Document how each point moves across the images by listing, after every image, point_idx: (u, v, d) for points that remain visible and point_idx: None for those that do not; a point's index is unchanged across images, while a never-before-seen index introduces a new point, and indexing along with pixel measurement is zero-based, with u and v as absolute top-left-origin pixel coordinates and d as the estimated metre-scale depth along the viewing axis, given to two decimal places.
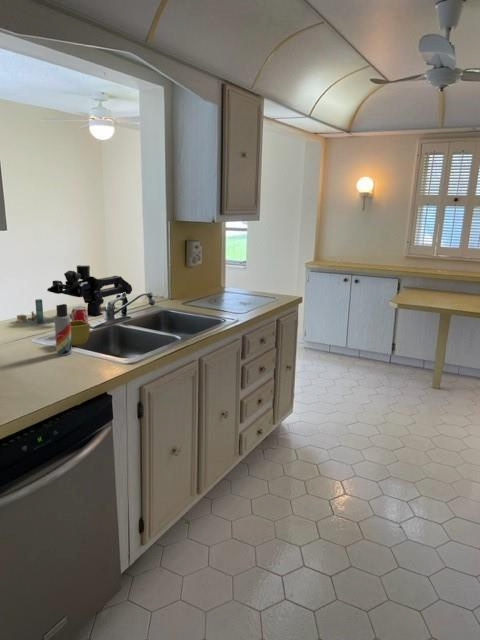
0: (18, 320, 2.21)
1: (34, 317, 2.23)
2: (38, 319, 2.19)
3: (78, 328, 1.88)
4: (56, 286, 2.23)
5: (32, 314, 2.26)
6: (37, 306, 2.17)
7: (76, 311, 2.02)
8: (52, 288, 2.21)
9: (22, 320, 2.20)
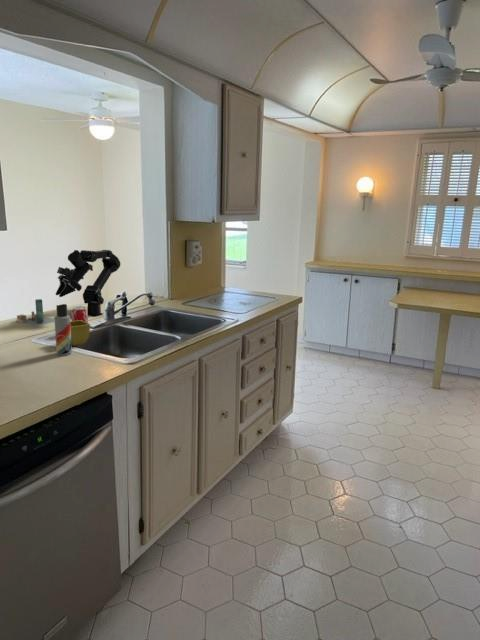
0: (18, 320, 2.21)
1: (34, 317, 2.23)
2: (38, 319, 2.19)
3: (78, 328, 1.88)
4: (62, 284, 2.26)
5: (32, 314, 2.26)
6: (37, 306, 2.17)
7: (76, 311, 2.02)
8: (59, 289, 2.26)
9: (22, 320, 2.20)
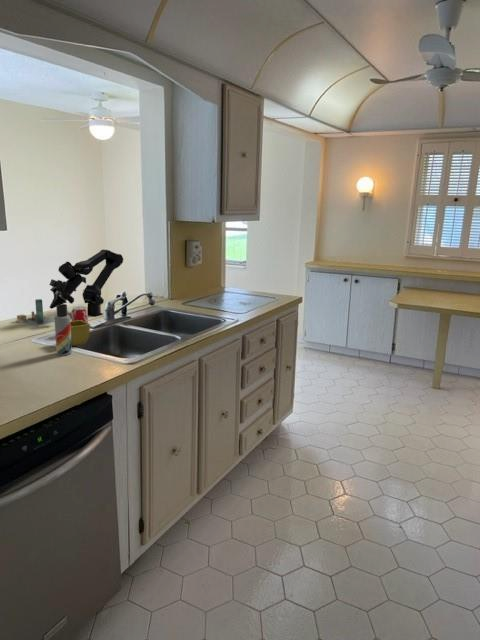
0: (18, 320, 2.21)
1: (34, 317, 2.23)
2: (38, 319, 2.19)
3: (78, 328, 1.88)
4: None
5: (32, 314, 2.26)
6: (37, 306, 2.17)
7: (76, 311, 2.02)
8: None
9: (22, 320, 2.20)
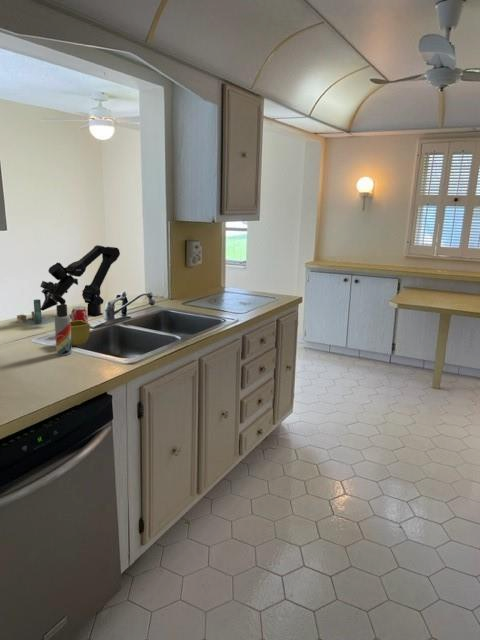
0: (18, 320, 2.21)
1: (33, 317, 2.23)
2: (36, 319, 2.18)
3: (78, 328, 1.88)
4: None
5: (32, 314, 2.26)
6: (35, 306, 2.17)
7: (76, 311, 2.02)
8: None
9: (22, 320, 2.20)
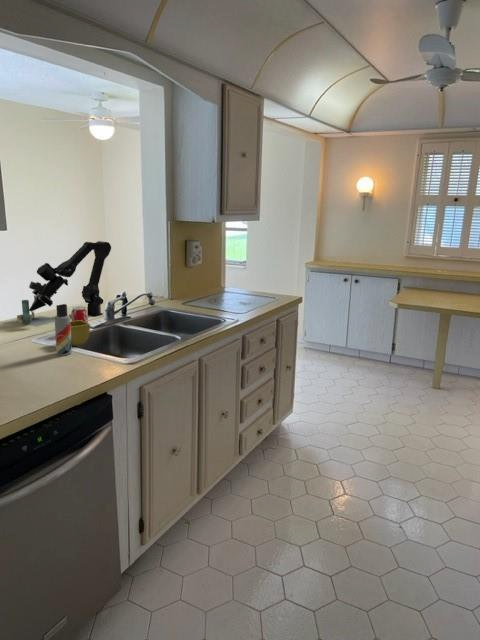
0: (18, 320, 2.21)
1: None
2: (23, 320, 2.17)
3: (78, 328, 1.88)
4: None
5: (32, 314, 2.26)
6: (22, 306, 2.15)
7: (76, 311, 2.02)
8: None
9: (22, 320, 2.20)
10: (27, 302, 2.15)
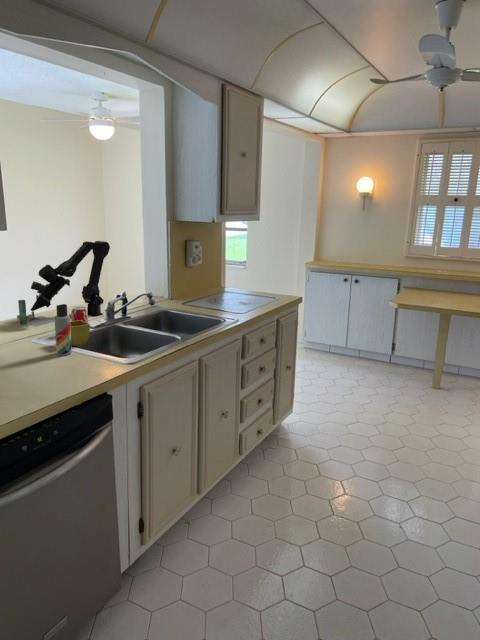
0: (18, 320, 2.21)
1: None
2: (20, 319, 2.17)
3: (78, 328, 1.88)
4: (38, 300, 2.19)
5: (32, 314, 2.26)
6: None
7: (76, 311, 2.02)
8: None
9: None
10: (23, 302, 2.15)
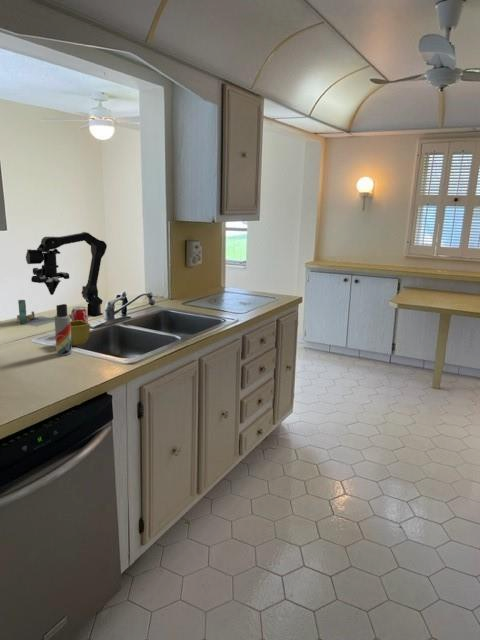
0: (18, 320, 2.21)
1: None
2: (20, 319, 2.17)
3: (78, 328, 1.88)
4: None
5: (32, 314, 2.26)
6: None
7: (76, 311, 2.02)
8: None
9: None
10: (23, 302, 2.15)
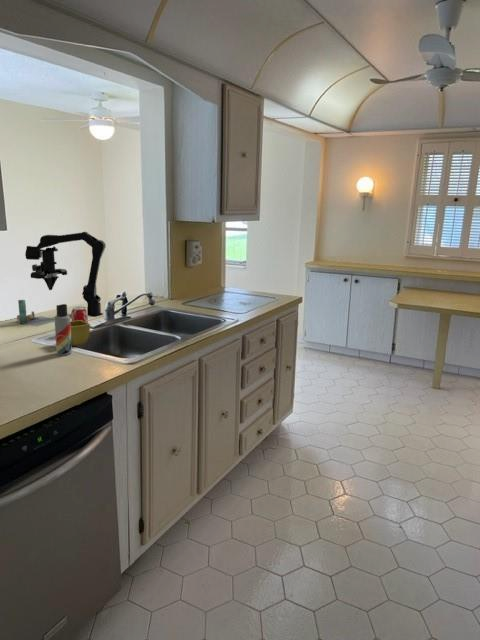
0: (18, 320, 2.21)
1: None
2: (20, 319, 2.17)
3: (78, 328, 1.88)
4: None
5: (32, 314, 2.26)
6: None
7: (76, 311, 2.02)
8: None
9: None
10: (23, 302, 2.15)
